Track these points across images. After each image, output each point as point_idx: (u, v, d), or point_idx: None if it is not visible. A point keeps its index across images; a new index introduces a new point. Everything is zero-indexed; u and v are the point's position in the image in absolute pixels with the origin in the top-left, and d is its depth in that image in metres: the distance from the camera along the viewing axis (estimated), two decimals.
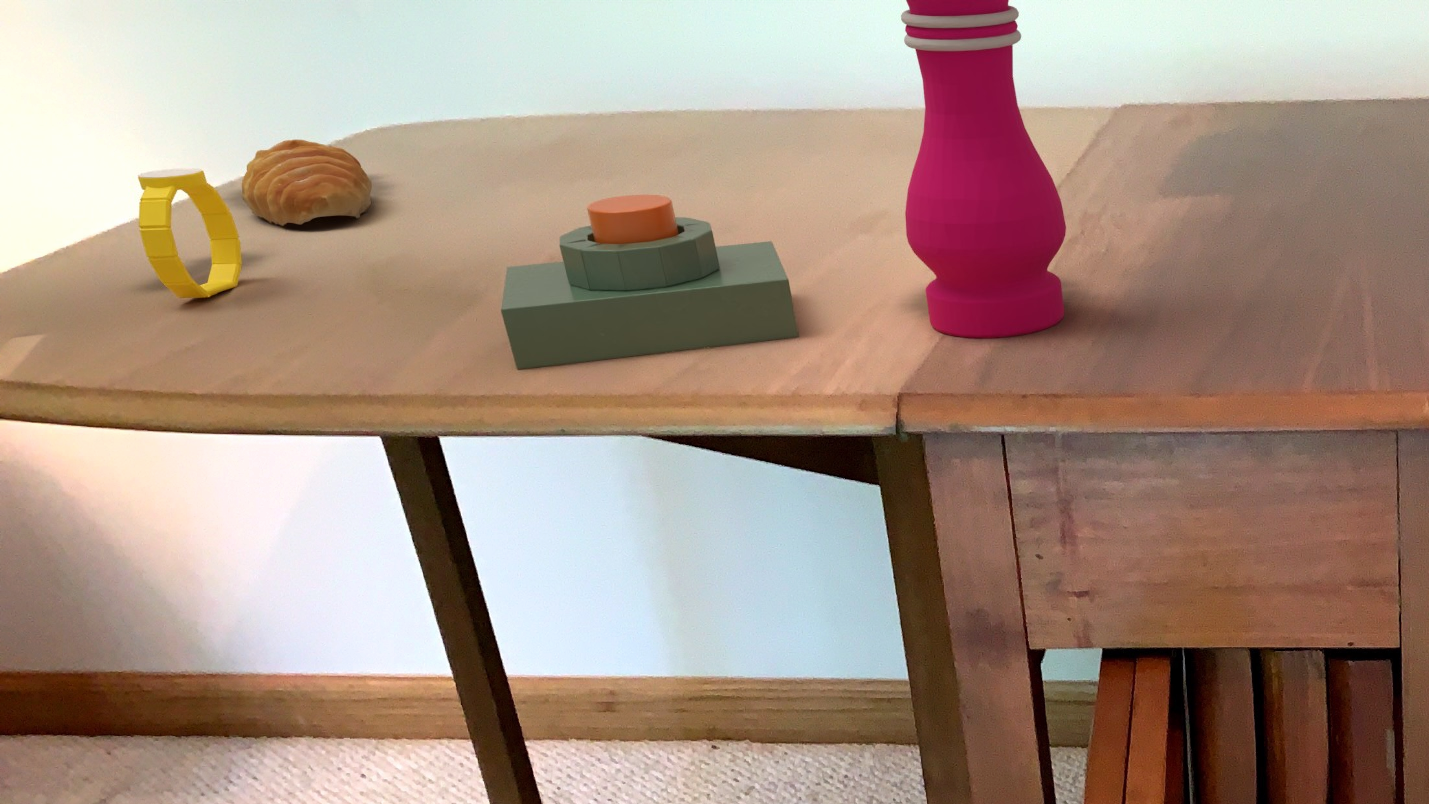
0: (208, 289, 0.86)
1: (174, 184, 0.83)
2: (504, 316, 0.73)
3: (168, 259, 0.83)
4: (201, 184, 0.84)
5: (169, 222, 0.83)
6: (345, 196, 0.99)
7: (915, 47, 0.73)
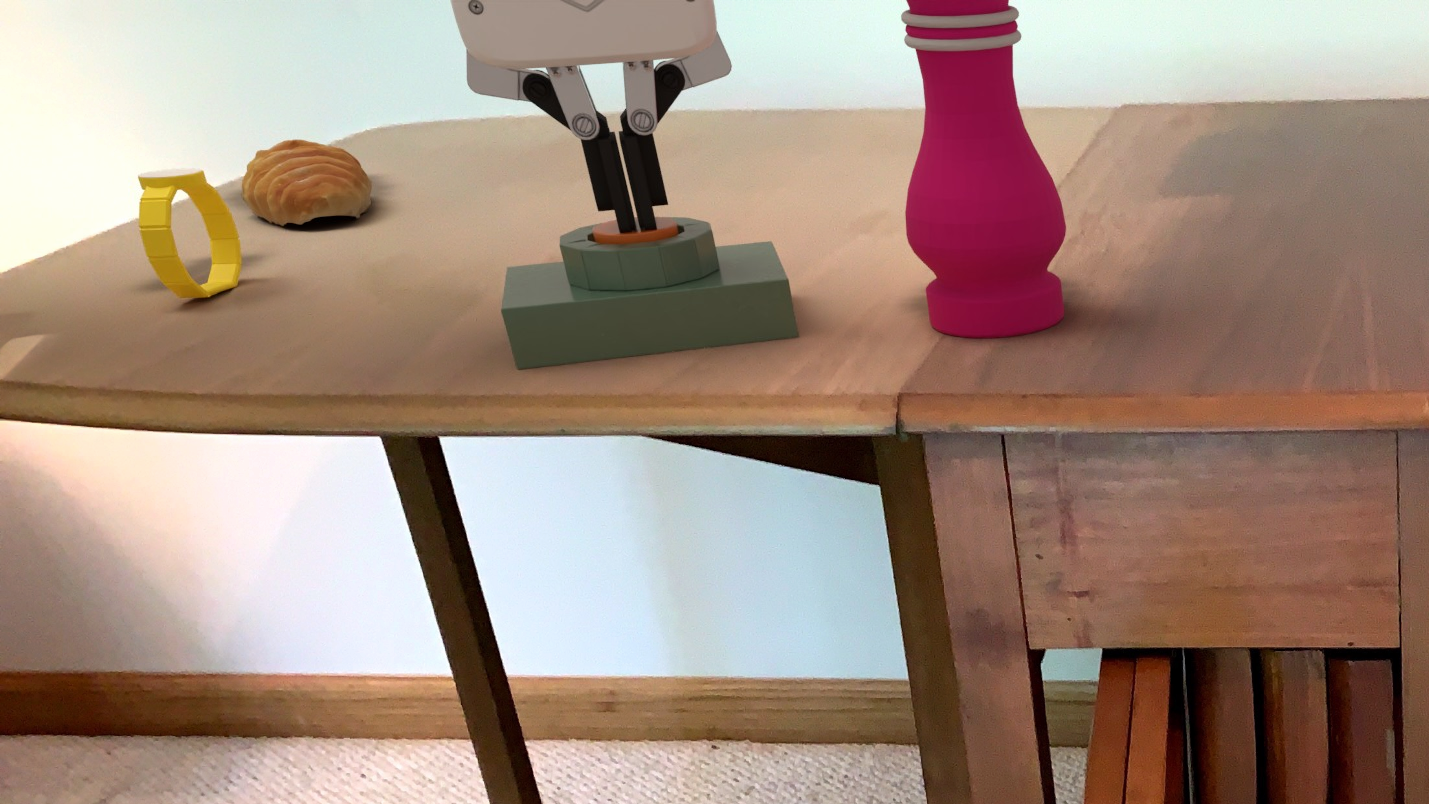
0: (208, 289, 0.86)
1: (174, 184, 0.83)
2: (504, 316, 0.73)
3: (168, 259, 0.83)
4: (201, 184, 0.84)
5: (169, 222, 0.83)
6: (345, 196, 0.99)
7: (915, 47, 0.73)
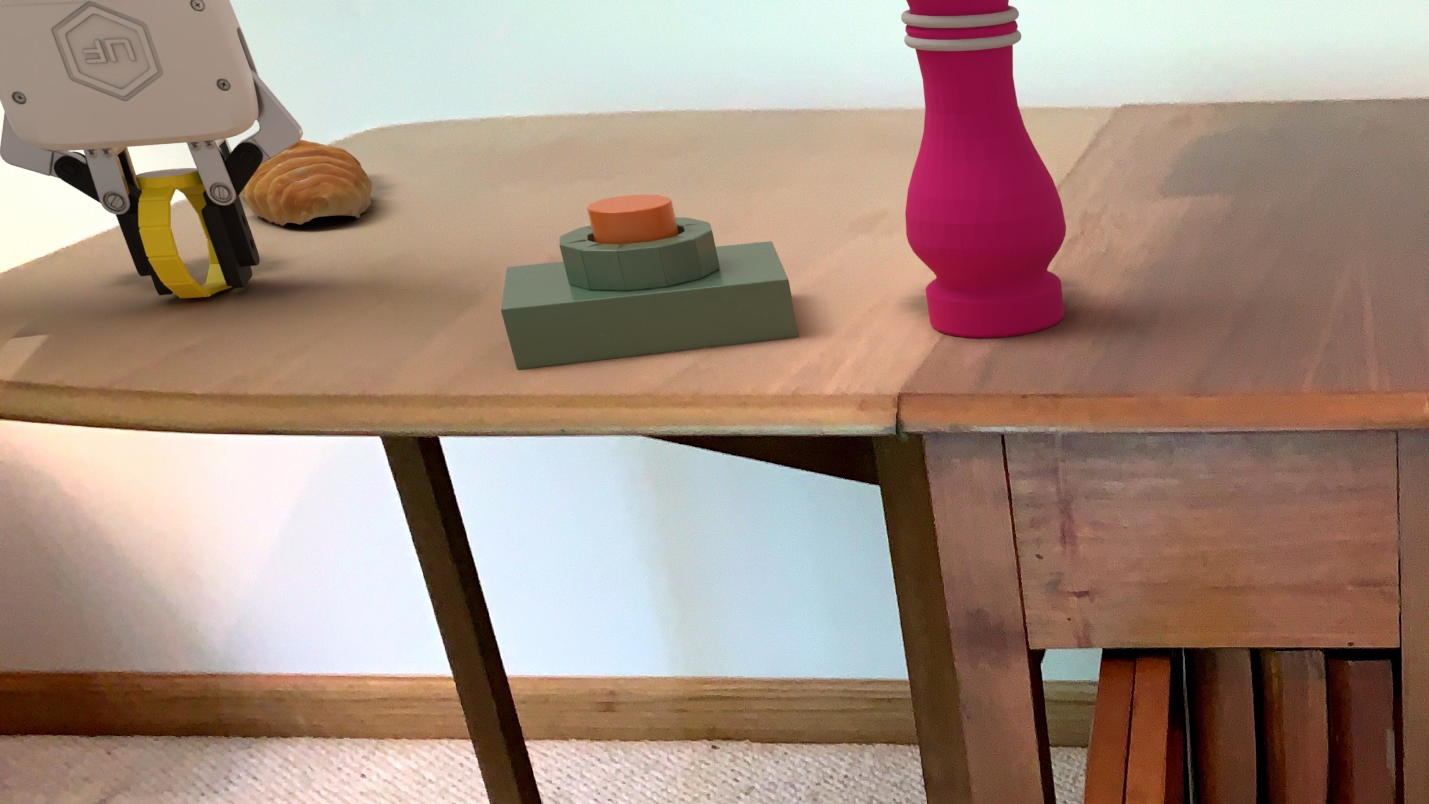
0: (208, 288, 0.86)
1: (172, 183, 0.83)
2: (504, 316, 0.73)
3: (168, 259, 0.83)
4: (199, 183, 0.84)
5: (169, 221, 0.83)
6: (345, 196, 0.99)
7: (915, 47, 0.73)
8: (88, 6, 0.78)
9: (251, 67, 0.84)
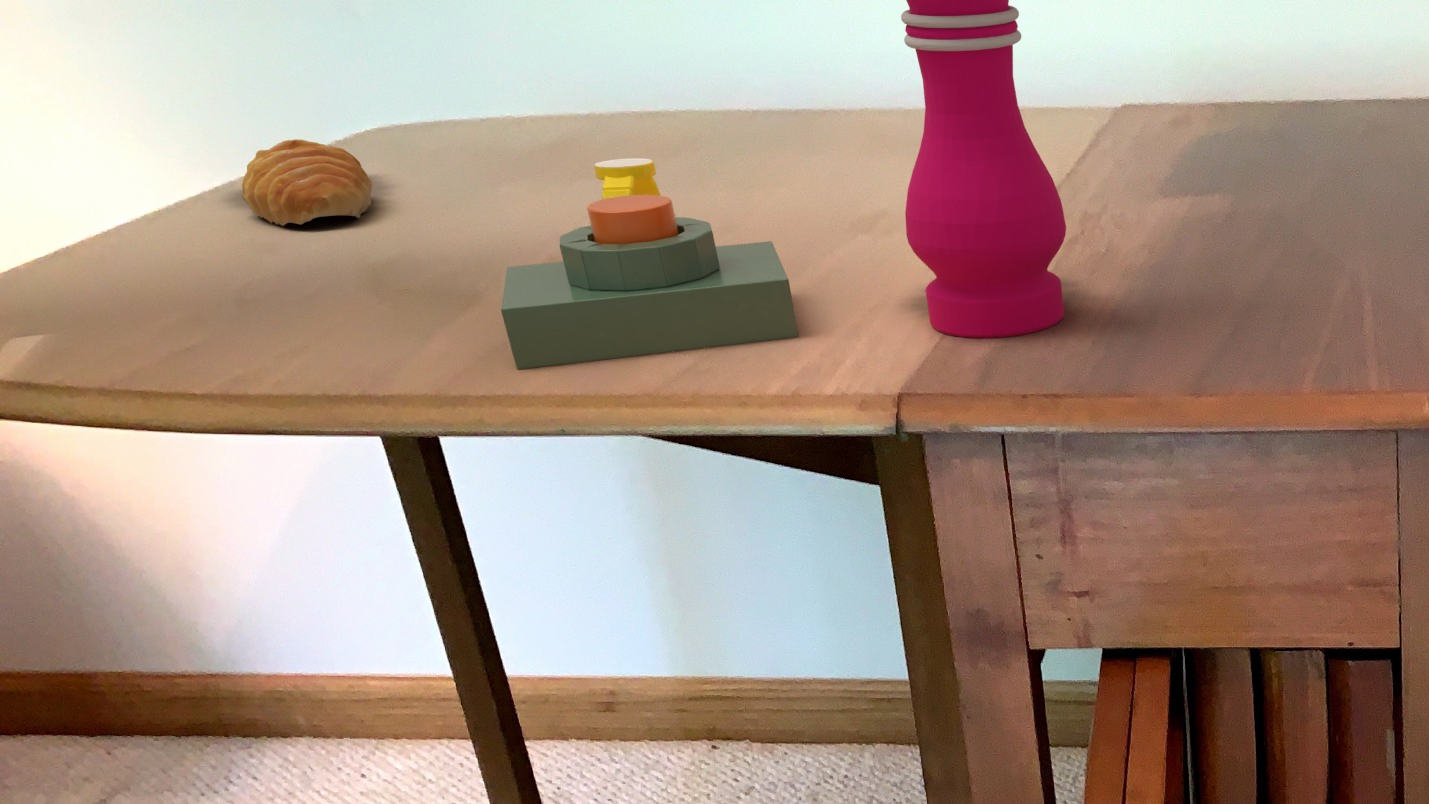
0: None
1: (633, 174, 0.84)
2: (504, 316, 0.73)
3: None
4: (653, 174, 0.85)
5: None
6: (345, 196, 0.99)
7: (915, 47, 0.73)
8: None
9: None
